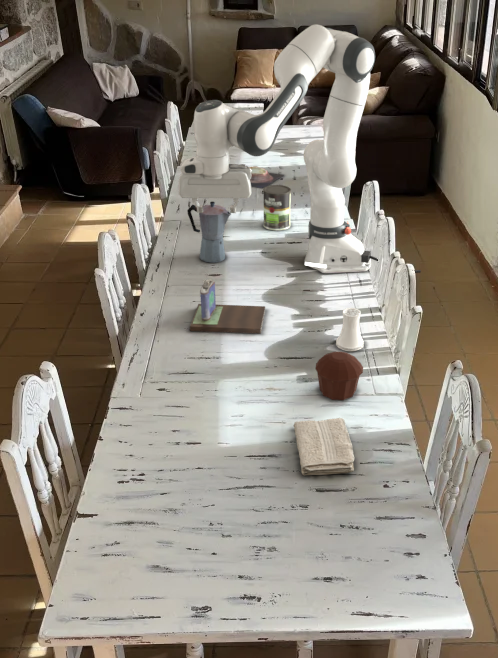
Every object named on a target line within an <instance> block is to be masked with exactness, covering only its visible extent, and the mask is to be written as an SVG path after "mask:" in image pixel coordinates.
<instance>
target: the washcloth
mask: <svg viewBox="0 0 498 658" xmlns="http://www.w3.org/2000/svg"><path fill="white" fill-rule="evenodd" d="M293 429H294V434H295V435H294V436H295V440H296V448H297V451H298V456H299V463H300V469H301V471H300V472H301V474H302V476H312V475H314V476H315V475H317V476H322V475H337V474H348V473H352V472H354V470H355V467H354V461H355V455H354V450H353V449H354V448H353V443H352V441H351V437H350V434H349V433H350V432H349V431H348V427H347V424H346V421H345V419H344V418H343V417H338V418H337V417H336V418H328V419H324V420H323V419H322V420H318V421H317V420H310V419H309V420H299V421H294V423H293Z"/></svg>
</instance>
